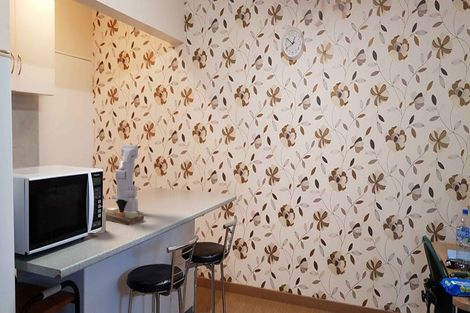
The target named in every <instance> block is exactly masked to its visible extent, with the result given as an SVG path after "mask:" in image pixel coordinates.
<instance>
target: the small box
mask: <svg viewBox="0 0 470 313" xmlns="http://www.w3.org/2000/svg"><path fill="white" fill-rule="evenodd" d="M102 207H103V212H102V228H101V230H100V231H98V232H96V233H95V234H104V233H105V231H106V230H107V225H106V224H107V220H106V209H107V208H106V206H102Z"/></svg>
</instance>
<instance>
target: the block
mask: <svg viewBox="0 0 470 313" xmlns="http://www.w3.org/2000/svg"><path fill="white" fill-rule="evenodd" d="M138 213H139V211H138V212H133V211H130V212H126V213H125V217H127V218H131V219H132V218H135V217H138V215H139V214H138Z"/></svg>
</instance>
